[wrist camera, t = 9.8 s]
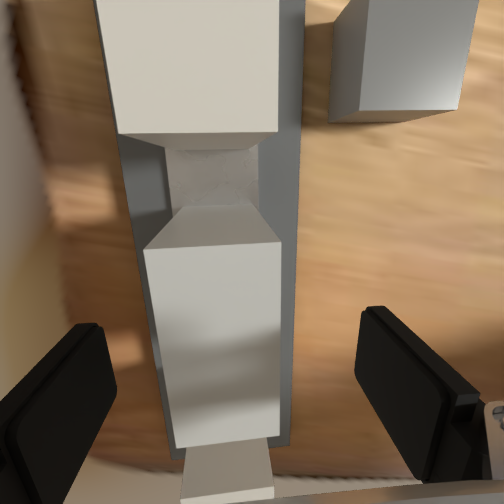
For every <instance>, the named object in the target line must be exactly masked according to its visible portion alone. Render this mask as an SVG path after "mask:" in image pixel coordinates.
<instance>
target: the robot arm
mask: <svg viewBox="0 0 504 504" xmlns="http://www.w3.org/2000/svg"><path fill="white" fill-rule="evenodd" d="M354 371H355V376H356V379H357V381H358V383H359V384H360V386H361V388H362V389H363V391H364V393H365V395H366V396H367V398H368V400H369V401H370V403H371V405H372V406H373V408H374V410H375V412H376V413H377V415H378V417H379V418H380V420H381V422H382V423H383V425H384V427H385V429H386V430H387V432H388V434H389V435H390V437H391V439H392V440H393V442H394V444H395V446H396V447H397V449H398V451H399V452H400V454H401V456H402V457H403V459H404V461H405V463H406V464H407V466H408V468H409V469H410V471H411V473H412V474H413V476H414V477H415V478H416V479H417V480H421V481H422V483H423V484H415V485H403V486H393V487H383V488H373V489H363V490H353V491H343V492H333V493H323V494H313V495H303V496H294V497H283V498H274V499H264V500H255V501H245V502H236V503H226V504H504V401H492V402H489V403H488V404H485V403H484V402H483V401H481V400H480V399H479V396H480V392H479V391H477V390H476V389H475V388H474V387H473V386H472V385H471V384H470V383H469V382H468V381H466V380H465V379H464V378H463V377H462V376H461V375H460V374H459V373H458V372H457V371H455V370H454V369H453V368H452V367H451V366H450V365H449V364H448V363H447V362H446V361H444V360H443V359H442V358H441V357H440V356H439V355H438V354H437V353H436V352H435V351H434V350H432V349H431V348H430V347H429V346H428V345H427V344H426V343H425V342H424V341H423V340H421V339H420V338H419V337H418V336H417V335H416V334H415V333H414V332H413V331H412V330H410V329H409V328H408V327H407V326H406V325H405V324H404V323H403V322H402V321H401V320H400V319H398V318H397V317H396V316H395V315H394V314H393V313H392V312H391V311H390V310H389V309H387V308H386V307H385V306H369V307H367V308H366V310H365V311H362V313H361V320H360V328H359V336H358V344H357V352H356V360H355V368H354ZM116 394H117V385H116V381H115V377H114V372H113V368H112V364H111V359H110V355H109V351H108V346H107V342H106V338H105V333H104V330H103V328H102V327H99V326H98V324H97V323H81V324H76V325H75V326H74V327H73V328H72V329H71V330H70V331H69V332H68V333H67V334H66V335H65V336H64V337H63V338H62V339H61V340H60V341H59V342H58V343H57V344H56V345H55V346H54V347H53V348H52V349H51V350H50V351H49V352H48V353H47V354H46V355H45V356H44V357H43V358H42V359H41V360H40V361H39V362H38V363H37V364H36V366H34V367H33V369H32V370H31V371H30V372H29V373H28V374H27V375H26V376H25V377H24V378H23V379H22V380H21V381H20V382H19V383H18V384H17V385H16V386H15V387H14V388H13V389H12V390H11V391H10V392H9V393H8V394H7V395H6V396H5V397H4V398H3V399H2V400H1V401H0V504H63V502H64V500H65V498H66V496H67V494H68V492H69V490H70V488H71V486H72V484H73V482H74V480H75V478H76V476H77V474H78V472H79V470H80V468H81V466H82V464H83V462H84V460H85V458H86V456H87V454H88V452H89V450H90V448H91V446H92V444H93V442H94V440H95V438H96V436H97V434H98V432H99V430H100V428H101V426H102V424H103V422H104V420H105V418H106V416H107V414H108V412H109V410H110V408H111V406H112V404H113V402H114V400H115V397H116Z"/></svg>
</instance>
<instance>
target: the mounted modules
mask: <svg viewBox="0 0 504 504" xmlns="http://www.w3.org/2000/svg"><path fill="white" fill-rule="evenodd" d="M96 3H97V9H98V14H99V20H100V26H101V32H102V38H103V44H104V50H105V56H106V62H107V68H108V74H109V80H110V86H111V92H112V98H113V104H114V110H115V116H116V122H117V128H118V134H122V135H125V136H128V137H132V138H135V139H138V140H142V141H145V142H149V143H152V144H155V145H159V146H162V147H165V148H169V149H172V150H217V149H250V148H251V147H253V146H255V145H257V144H258V143H260V142H262V141H263V140H265V139H267V138H268V137H270V136H272V135H274V134H275V133H277V132H278V72H279V0H96ZM264 499H274V481H273V475H272V468H271V462H270V456H269V450H268V444H267V437H265V438H257V439H249V440H241V441H233V442H225V443H217V444H209V445H201V446H193V447H187V448H186V456H185V464H184V472H183V479H182V488H181V495H180V503H181V504H226V503H236V502H245V501H255V500H264Z"/></svg>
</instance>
